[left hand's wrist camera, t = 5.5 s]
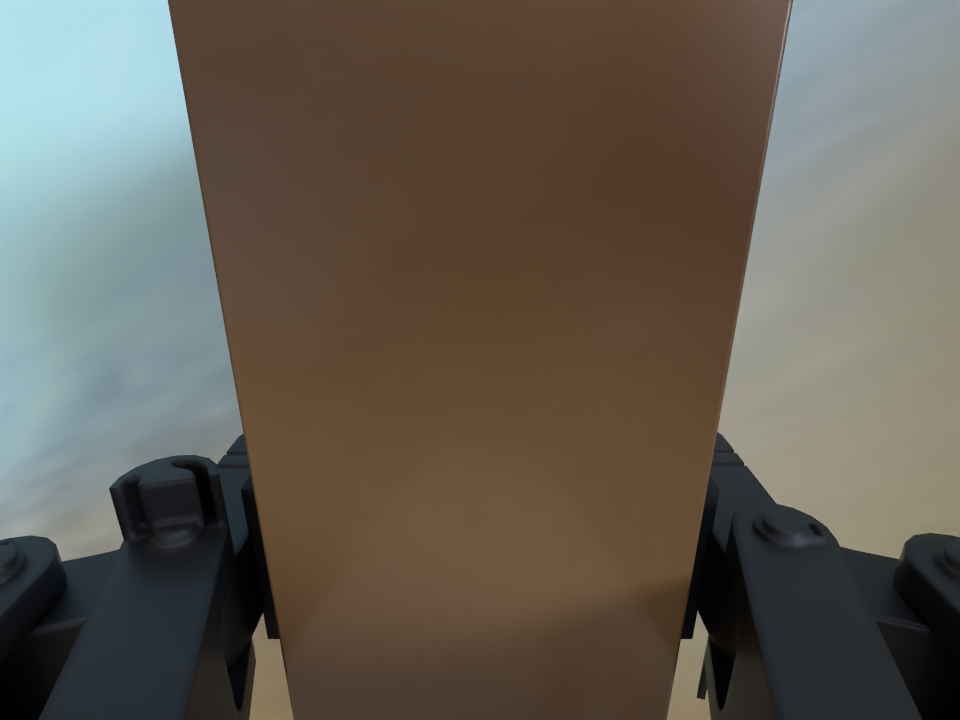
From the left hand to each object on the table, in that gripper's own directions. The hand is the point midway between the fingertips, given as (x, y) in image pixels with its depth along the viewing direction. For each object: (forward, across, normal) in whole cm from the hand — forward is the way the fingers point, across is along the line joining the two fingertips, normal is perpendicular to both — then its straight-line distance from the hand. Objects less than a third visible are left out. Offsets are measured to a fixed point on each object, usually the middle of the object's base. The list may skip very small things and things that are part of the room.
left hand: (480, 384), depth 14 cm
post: (+1, 0, -32) cm, 32 cm away
